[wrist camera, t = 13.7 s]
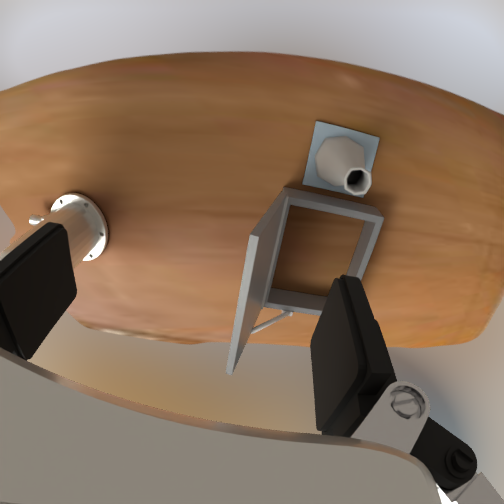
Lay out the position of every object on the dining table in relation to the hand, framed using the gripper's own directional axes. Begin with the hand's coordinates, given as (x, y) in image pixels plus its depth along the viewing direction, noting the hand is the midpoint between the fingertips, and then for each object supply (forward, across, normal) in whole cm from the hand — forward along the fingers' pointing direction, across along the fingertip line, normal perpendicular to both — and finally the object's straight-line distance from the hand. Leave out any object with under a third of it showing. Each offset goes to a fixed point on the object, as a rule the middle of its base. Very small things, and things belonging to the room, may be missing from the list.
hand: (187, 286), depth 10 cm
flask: (+33, -12, +1) cm, 35 cm away
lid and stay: (+30, -6, +15) cm, 34 cm away
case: (+33, -12, +15) cm, 38 cm away
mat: (+33, -12, 0) cm, 35 cm away
